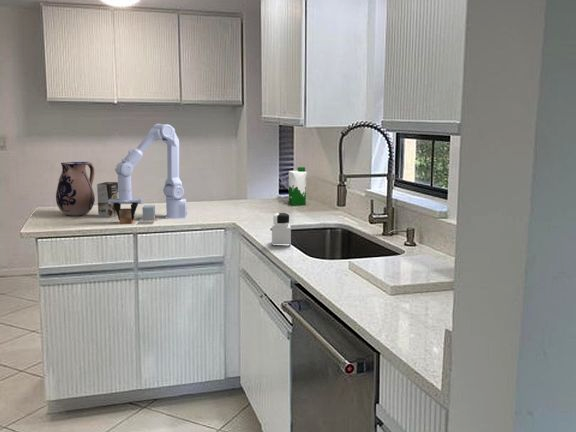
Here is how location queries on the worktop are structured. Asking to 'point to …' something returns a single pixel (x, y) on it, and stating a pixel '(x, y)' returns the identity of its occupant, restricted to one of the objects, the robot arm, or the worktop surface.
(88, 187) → the ceramic pitcher
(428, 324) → the worktop surface
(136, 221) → the code tile
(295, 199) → the milk carton
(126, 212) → the walnut block
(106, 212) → the coffee box
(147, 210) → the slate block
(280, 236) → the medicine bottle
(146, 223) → the rubber pad
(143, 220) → the code tile
